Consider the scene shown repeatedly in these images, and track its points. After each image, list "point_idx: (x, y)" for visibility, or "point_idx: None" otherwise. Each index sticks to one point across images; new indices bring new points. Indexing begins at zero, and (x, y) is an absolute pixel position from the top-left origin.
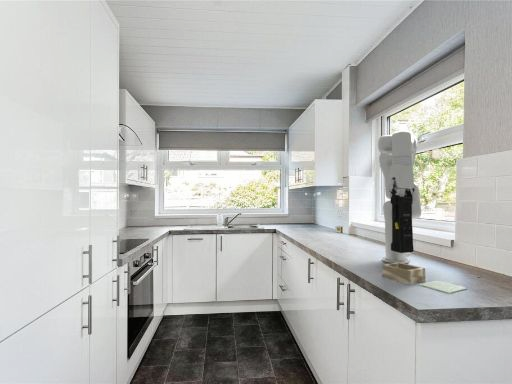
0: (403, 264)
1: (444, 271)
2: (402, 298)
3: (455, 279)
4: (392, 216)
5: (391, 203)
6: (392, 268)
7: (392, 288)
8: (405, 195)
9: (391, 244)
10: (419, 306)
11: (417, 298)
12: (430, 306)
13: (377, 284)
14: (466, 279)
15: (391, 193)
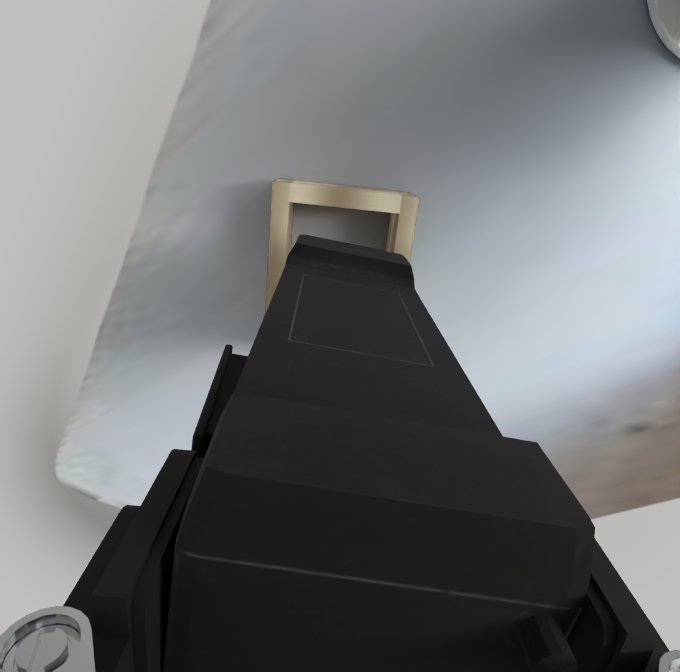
0: (394, 244)
1: (650, 302)
2: (88, 405)
3: (521, 394)
4: (220, 364)
5: (221, 416)
6: (269, 252)
7: (155, 320)
8: (531, 670)
9: (290, 251)
10: (75, 470)
11: (138, 431)
12: (108, 486)
13: (142, 249)
14: (557, 417)
15: None
